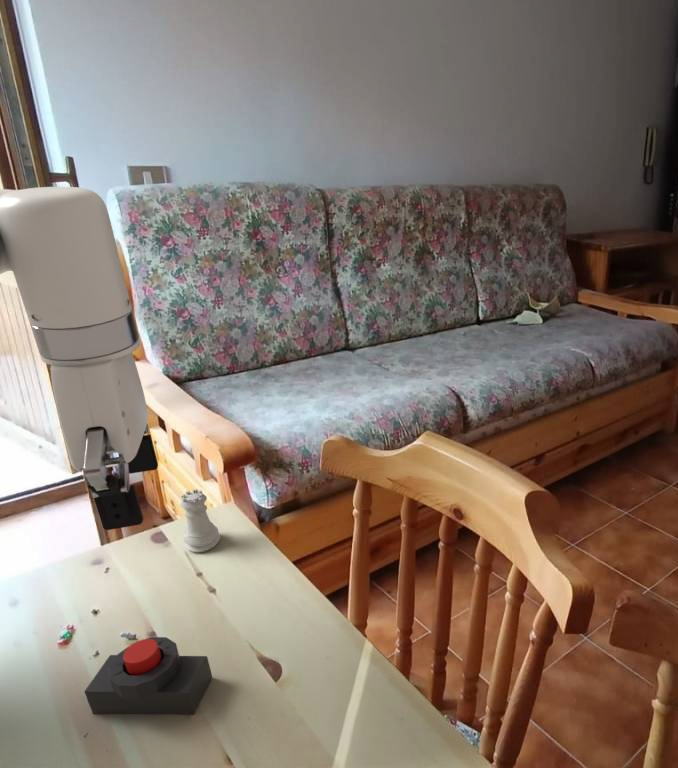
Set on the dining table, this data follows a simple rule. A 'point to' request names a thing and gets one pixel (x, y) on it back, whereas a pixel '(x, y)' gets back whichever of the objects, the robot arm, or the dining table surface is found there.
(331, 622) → the dining table surface
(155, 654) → the power button
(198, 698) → the power button base
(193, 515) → the rook chess piece
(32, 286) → the robot arm
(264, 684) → the dining table surface
